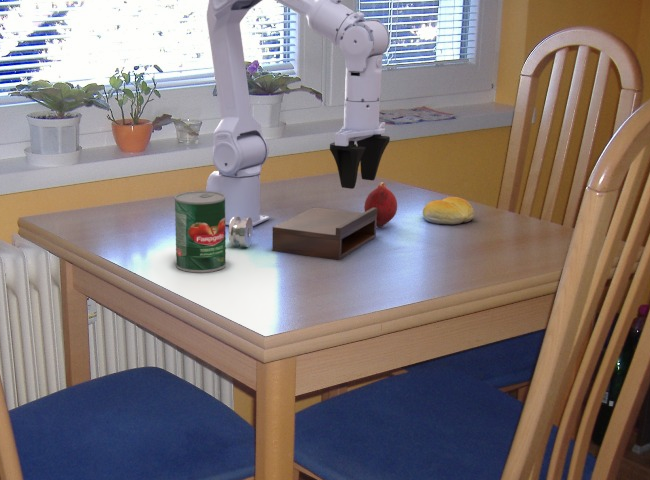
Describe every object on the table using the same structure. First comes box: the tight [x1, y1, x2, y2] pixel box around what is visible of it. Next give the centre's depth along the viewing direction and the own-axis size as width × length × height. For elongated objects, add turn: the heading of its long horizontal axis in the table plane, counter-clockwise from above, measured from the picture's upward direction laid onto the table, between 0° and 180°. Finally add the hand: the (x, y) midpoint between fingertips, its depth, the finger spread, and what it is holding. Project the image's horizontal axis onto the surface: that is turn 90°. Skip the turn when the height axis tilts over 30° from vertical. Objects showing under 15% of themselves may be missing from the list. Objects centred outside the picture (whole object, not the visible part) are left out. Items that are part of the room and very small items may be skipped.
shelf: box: [271, 207, 377, 261], centre depth 172 cm, size 12×16×5 cm
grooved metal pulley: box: [227, 216, 254, 248], centre depth 171 cm, size 5×3×5 cm, turn 163°
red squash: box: [363, 181, 398, 228], centre depth 182 cm, size 6×6×8 cm
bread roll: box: [422, 196, 475, 225], centre depth 187 cm, size 8×9×4 cm
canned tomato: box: [174, 190, 227, 274], centre depth 160 cm, size 8×8×11 cm
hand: (358, 183), depth 171 cm, fingers open, 7 cm apart
